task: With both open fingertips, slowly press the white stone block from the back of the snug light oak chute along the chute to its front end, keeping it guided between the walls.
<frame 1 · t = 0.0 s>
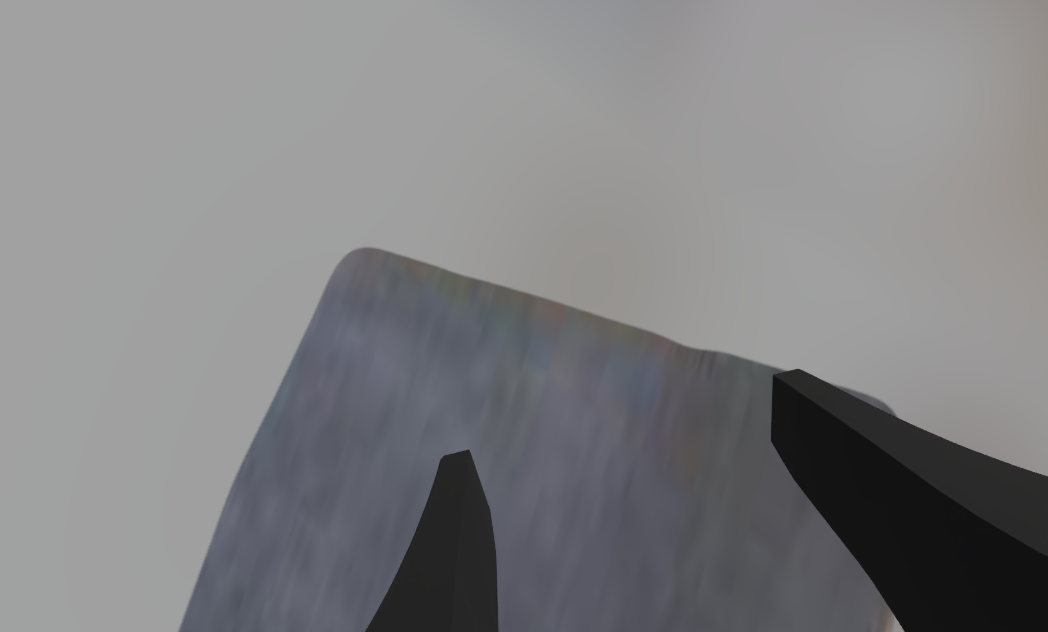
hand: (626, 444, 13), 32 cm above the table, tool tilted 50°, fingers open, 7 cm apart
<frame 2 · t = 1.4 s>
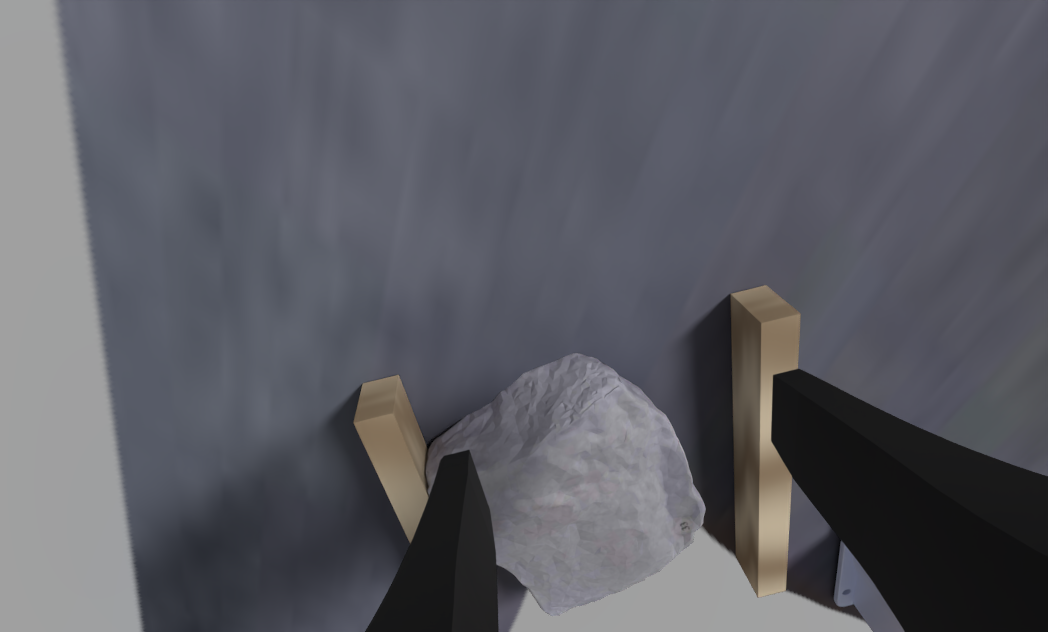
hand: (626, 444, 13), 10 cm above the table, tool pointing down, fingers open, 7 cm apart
oak chute: (594, 480, 26), on the table
stone block: (573, 457, 26), on the table
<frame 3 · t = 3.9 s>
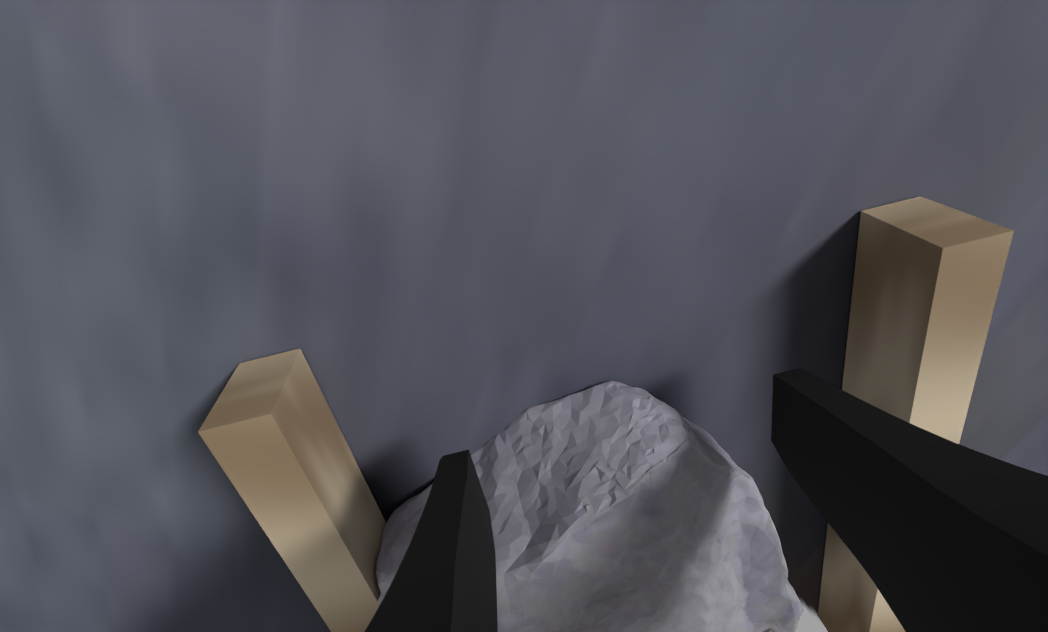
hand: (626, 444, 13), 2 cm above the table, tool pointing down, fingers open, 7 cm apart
oak chute: (622, 514, 17), on the table
stone block: (602, 527, 18), on the table, touching gripper
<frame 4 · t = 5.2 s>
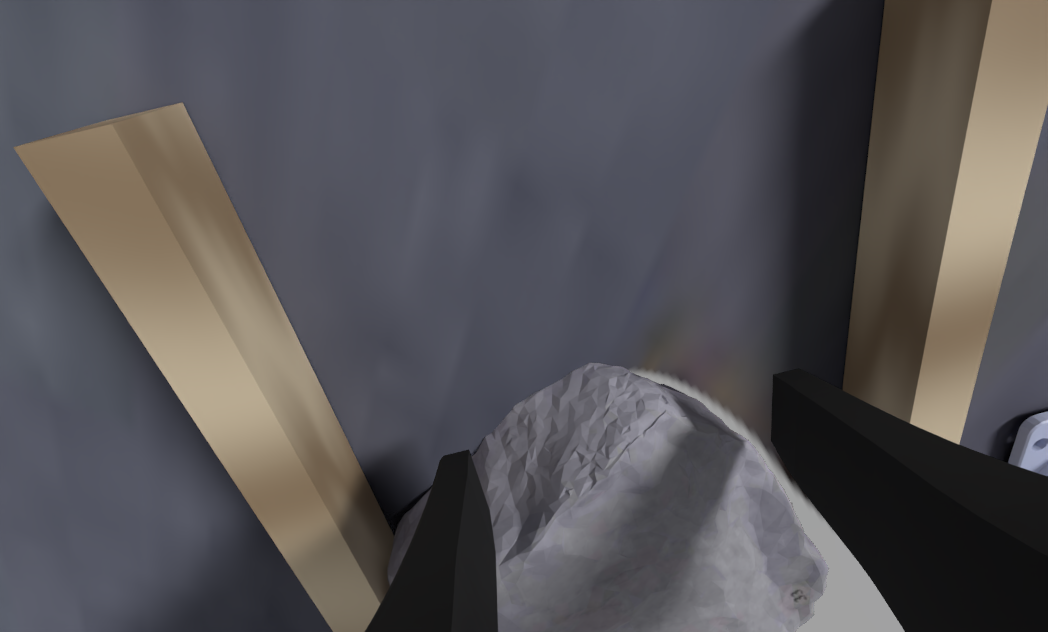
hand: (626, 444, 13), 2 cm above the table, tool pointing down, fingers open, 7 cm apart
oak chute: (599, 372, 15), on the table
stone block: (615, 507, 18), on the table
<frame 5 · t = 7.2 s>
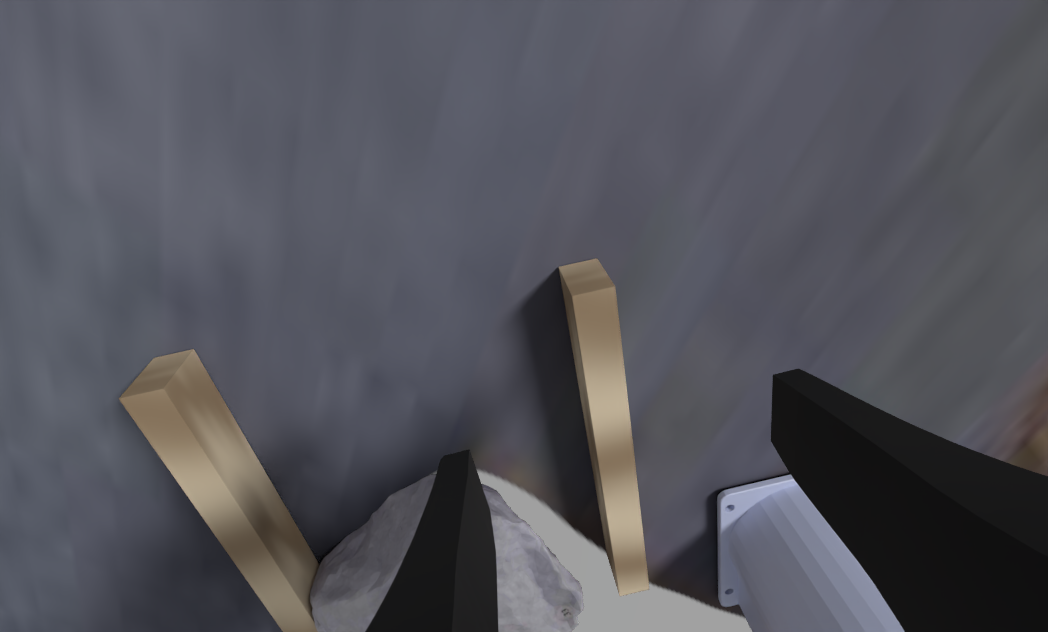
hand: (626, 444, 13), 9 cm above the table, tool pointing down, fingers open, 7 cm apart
oak chute: (436, 469, 25), on the table
stone block: (463, 553, 28), on the table
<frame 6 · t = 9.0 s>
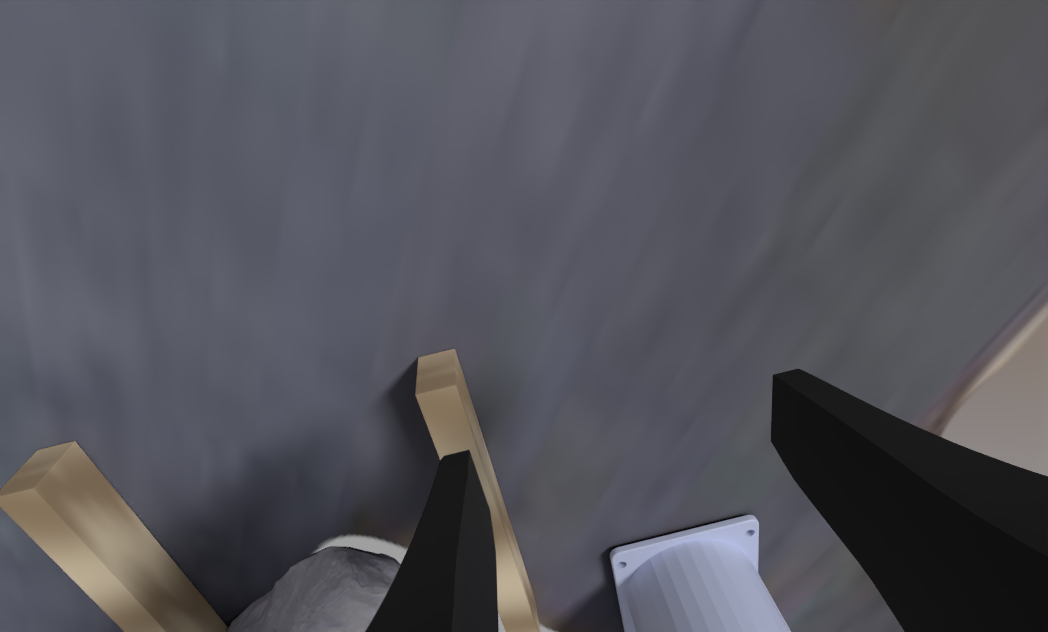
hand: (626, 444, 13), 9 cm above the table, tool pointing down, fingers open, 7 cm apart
oak chute: (327, 537, 26), on the table
stone block: (371, 613, 30), on the table
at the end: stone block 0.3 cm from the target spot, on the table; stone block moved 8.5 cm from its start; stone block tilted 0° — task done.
